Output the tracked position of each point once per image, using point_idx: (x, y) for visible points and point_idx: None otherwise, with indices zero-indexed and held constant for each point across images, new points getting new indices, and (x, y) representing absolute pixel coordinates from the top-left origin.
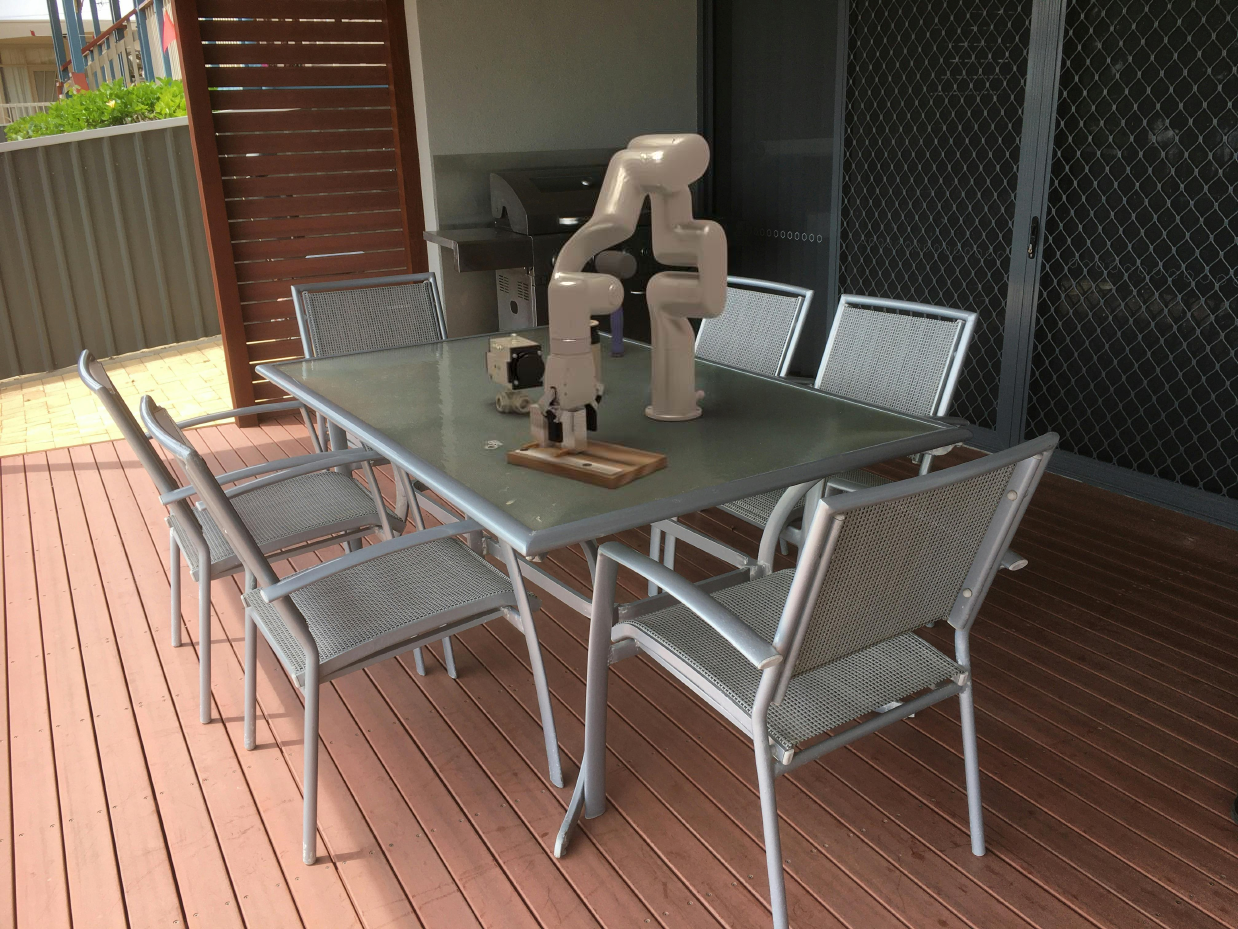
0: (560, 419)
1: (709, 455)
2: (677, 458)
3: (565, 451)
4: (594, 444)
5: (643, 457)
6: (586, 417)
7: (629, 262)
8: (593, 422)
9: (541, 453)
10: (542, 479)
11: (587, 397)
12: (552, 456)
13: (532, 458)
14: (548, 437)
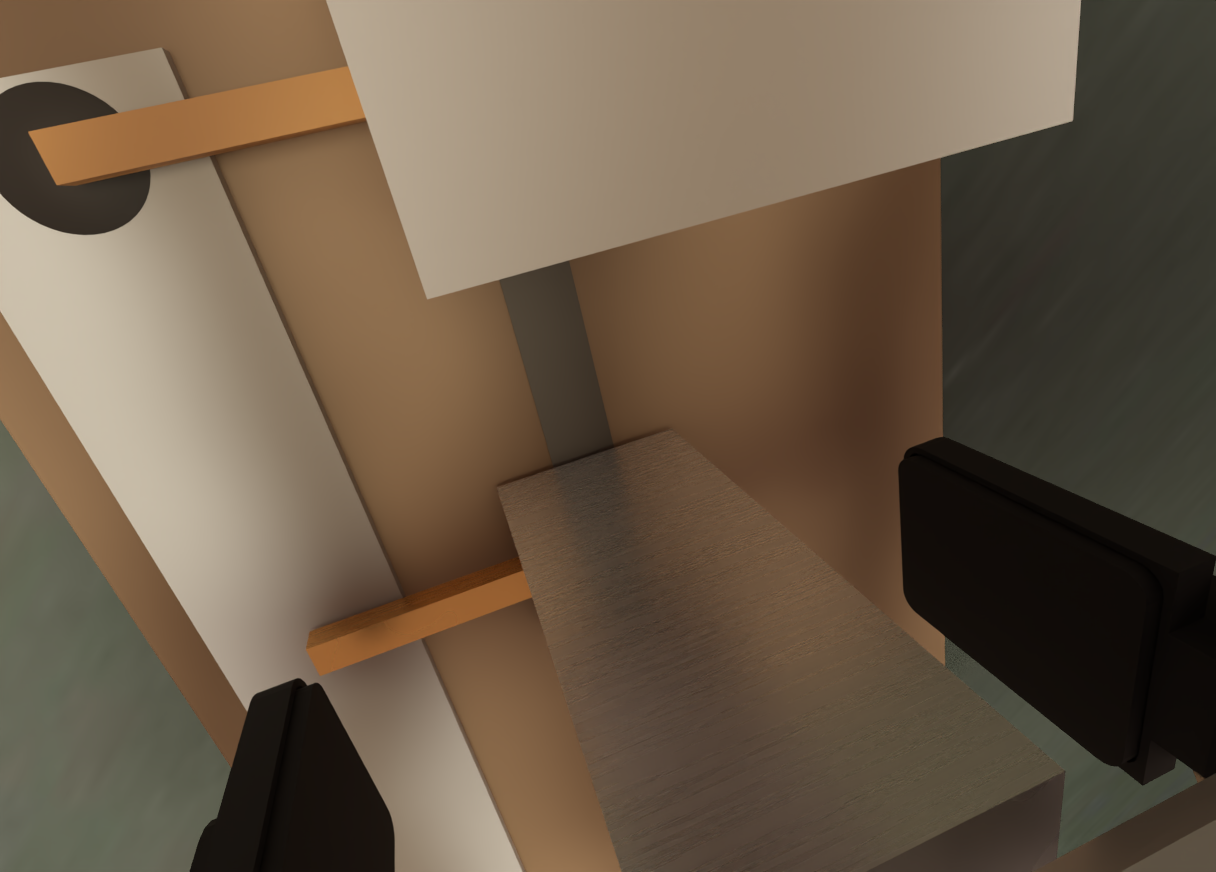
0: (585, 760)
1: None
2: (1023, 722)
3: (471, 614)
4: (856, 440)
5: None
6: (1036, 590)
7: None
8: (985, 661)
9: (241, 452)
10: (89, 752)
11: None
12: (306, 610)
13: (73, 506)
14: (248, 713)
